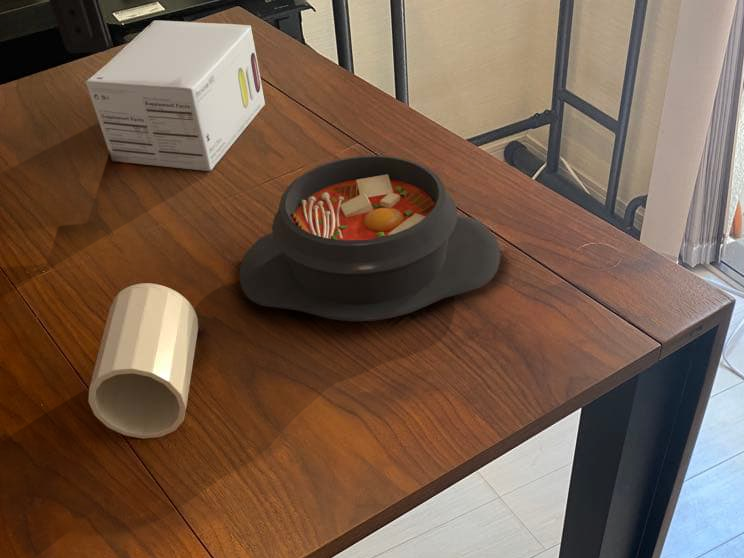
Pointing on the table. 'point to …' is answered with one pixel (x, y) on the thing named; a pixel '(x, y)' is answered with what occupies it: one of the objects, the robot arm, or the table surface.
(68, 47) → the robot arm
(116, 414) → the cup
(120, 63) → the supplement box
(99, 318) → the table surface
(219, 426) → the table surface
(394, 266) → the casserole
